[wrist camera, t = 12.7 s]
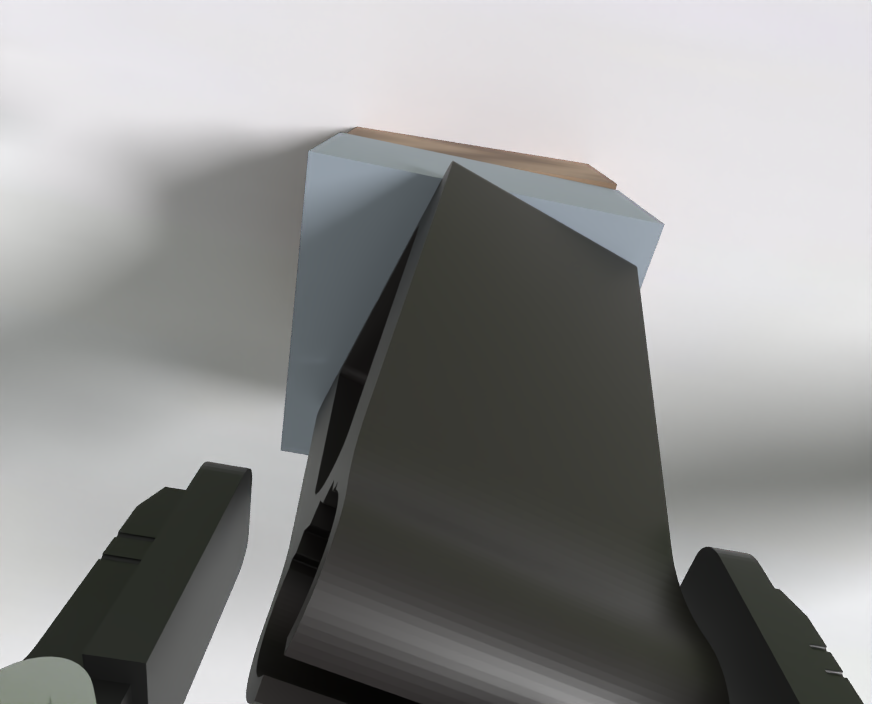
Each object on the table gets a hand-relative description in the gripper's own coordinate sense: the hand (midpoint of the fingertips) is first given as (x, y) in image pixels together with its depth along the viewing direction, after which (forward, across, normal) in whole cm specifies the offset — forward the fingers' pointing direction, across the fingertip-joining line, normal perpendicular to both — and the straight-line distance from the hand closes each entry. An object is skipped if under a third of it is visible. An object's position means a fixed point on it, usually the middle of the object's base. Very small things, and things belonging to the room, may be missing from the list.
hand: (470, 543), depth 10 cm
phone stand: (+9, 0, 0) cm, 9 cm away
